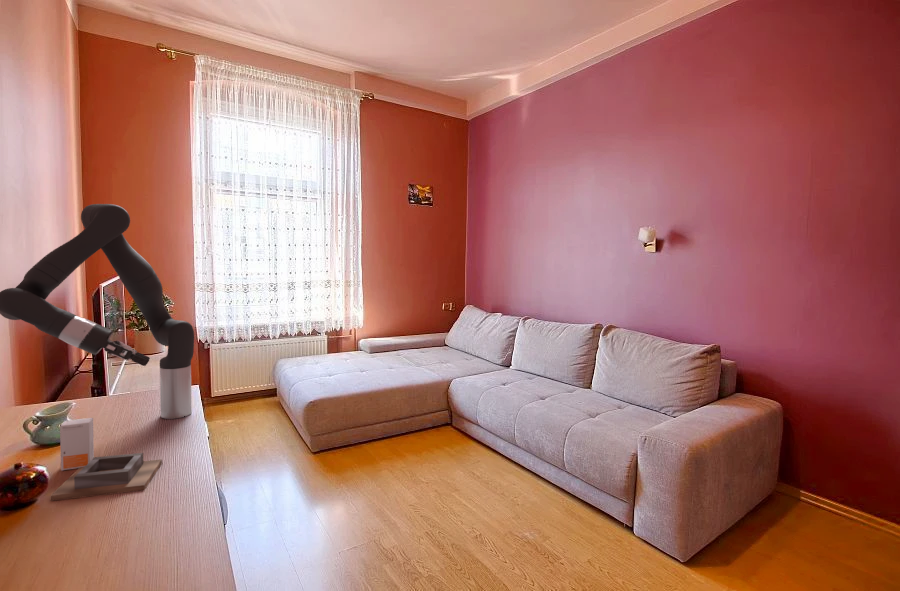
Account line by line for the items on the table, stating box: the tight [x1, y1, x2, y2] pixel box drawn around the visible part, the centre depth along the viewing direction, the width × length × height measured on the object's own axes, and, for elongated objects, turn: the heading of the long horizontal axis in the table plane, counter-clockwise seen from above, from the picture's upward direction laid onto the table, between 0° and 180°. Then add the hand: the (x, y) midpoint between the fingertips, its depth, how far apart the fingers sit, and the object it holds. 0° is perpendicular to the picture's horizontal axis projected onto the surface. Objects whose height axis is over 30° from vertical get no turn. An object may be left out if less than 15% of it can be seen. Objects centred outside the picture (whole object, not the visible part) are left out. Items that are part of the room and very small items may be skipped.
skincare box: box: [59, 417, 95, 472], centre depth 115 cm, size 6×4×12 cm
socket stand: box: [50, 452, 163, 502], centre depth 108 cm, size 14×18×4 cm
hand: (147, 362), depth 127 cm, fingers open, 8 cm apart
